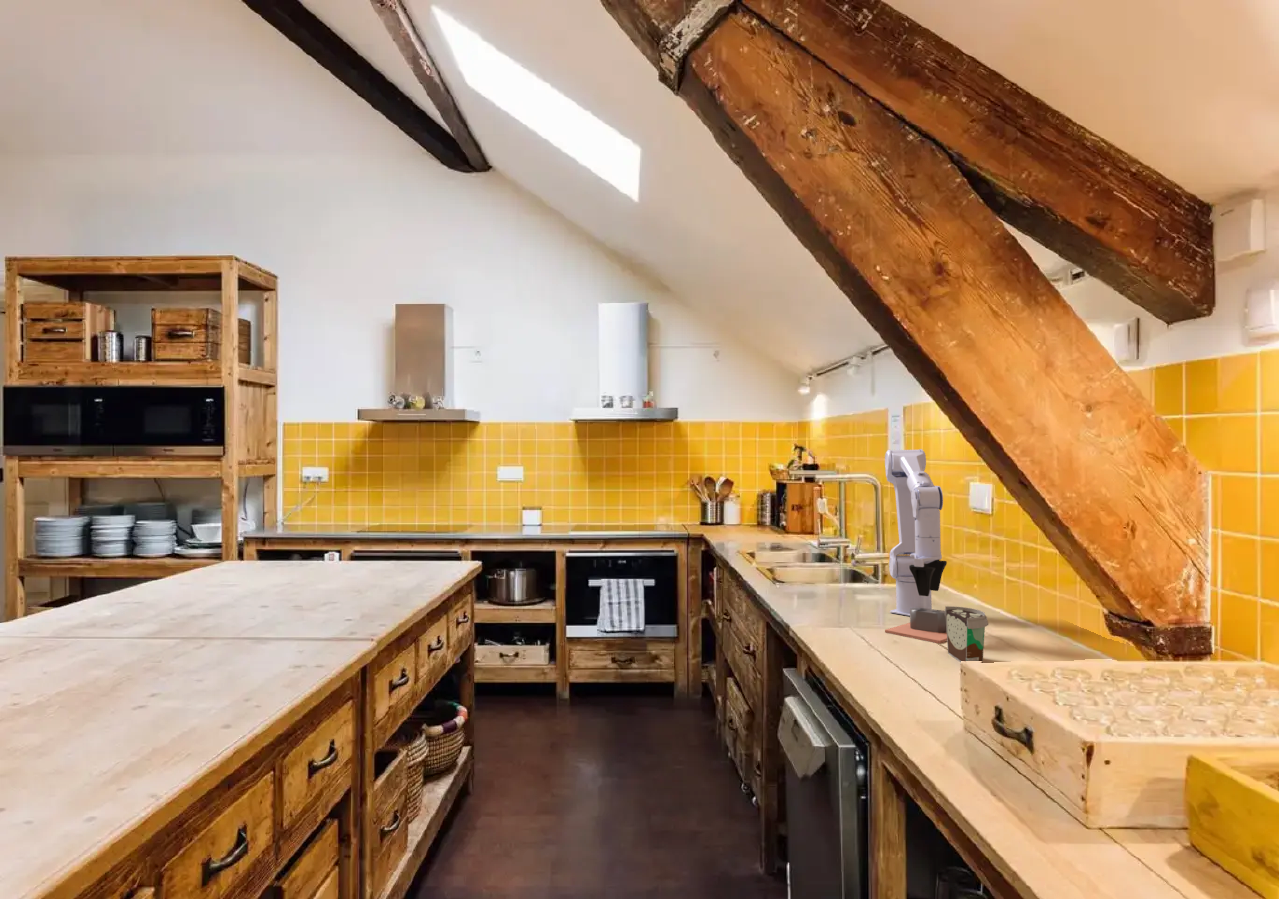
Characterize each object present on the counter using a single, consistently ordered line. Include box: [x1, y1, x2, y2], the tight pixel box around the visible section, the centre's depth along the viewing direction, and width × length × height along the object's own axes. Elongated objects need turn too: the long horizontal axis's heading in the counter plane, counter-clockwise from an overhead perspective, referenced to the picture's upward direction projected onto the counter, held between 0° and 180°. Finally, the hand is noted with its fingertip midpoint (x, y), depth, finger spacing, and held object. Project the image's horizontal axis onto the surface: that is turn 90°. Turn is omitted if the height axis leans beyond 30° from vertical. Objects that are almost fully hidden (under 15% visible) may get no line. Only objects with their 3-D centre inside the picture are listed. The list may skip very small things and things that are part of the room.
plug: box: [909, 608, 947, 633], centre depth 178 cm, size 4×10×4 cm, turn 52°
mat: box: [884, 622, 947, 644], centre depth 178 cm, size 16×14×1 cm
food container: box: [944, 605, 989, 663], centre depth 155 cm, size 12×6×10 cm, turn 179°
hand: (928, 593), depth 178 cm, fingers open, 7 cm apart
